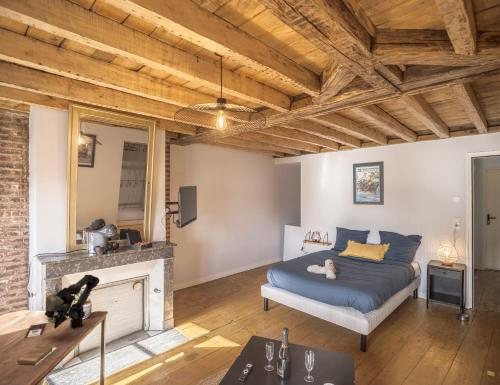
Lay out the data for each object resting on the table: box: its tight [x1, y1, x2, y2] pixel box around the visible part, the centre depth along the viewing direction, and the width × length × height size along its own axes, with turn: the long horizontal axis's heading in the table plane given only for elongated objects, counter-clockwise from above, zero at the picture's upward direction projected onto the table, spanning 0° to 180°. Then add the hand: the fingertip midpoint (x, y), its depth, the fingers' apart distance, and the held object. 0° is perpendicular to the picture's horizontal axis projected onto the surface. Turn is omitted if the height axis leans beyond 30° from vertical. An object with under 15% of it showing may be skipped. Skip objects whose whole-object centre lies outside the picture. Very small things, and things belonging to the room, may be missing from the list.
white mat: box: [34, 347, 57, 366], centre depth 163 cm, size 17×11×1 cm, turn 1°
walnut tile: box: [16, 346, 53, 366], centre depth 162 cm, size 2×10×14 cm
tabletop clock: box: [45, 284, 63, 321], centre depth 209 cm, size 14×9×25 cm, turn 49°
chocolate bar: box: [24, 322, 47, 339], centre depth 192 cm, size 9×1×18 cm
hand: (54, 328), depth 177 cm, fingers closed
